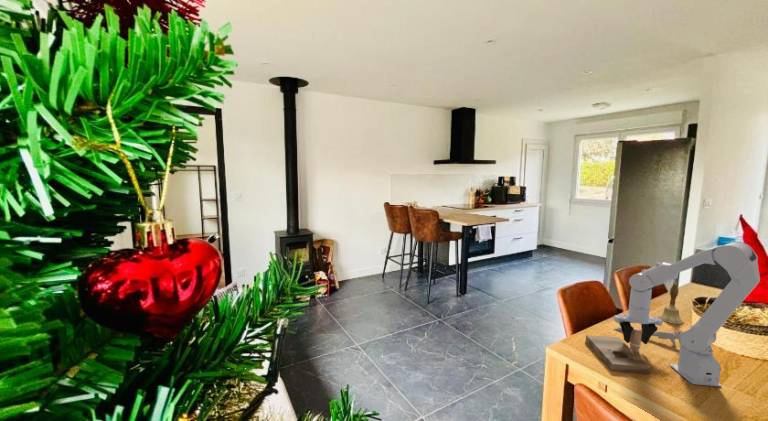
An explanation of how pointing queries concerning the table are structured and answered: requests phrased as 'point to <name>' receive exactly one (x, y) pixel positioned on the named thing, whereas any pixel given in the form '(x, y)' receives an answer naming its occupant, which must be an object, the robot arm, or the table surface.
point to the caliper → (663, 335)
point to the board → (617, 354)
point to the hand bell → (671, 309)
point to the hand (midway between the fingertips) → (635, 342)
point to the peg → (635, 339)
